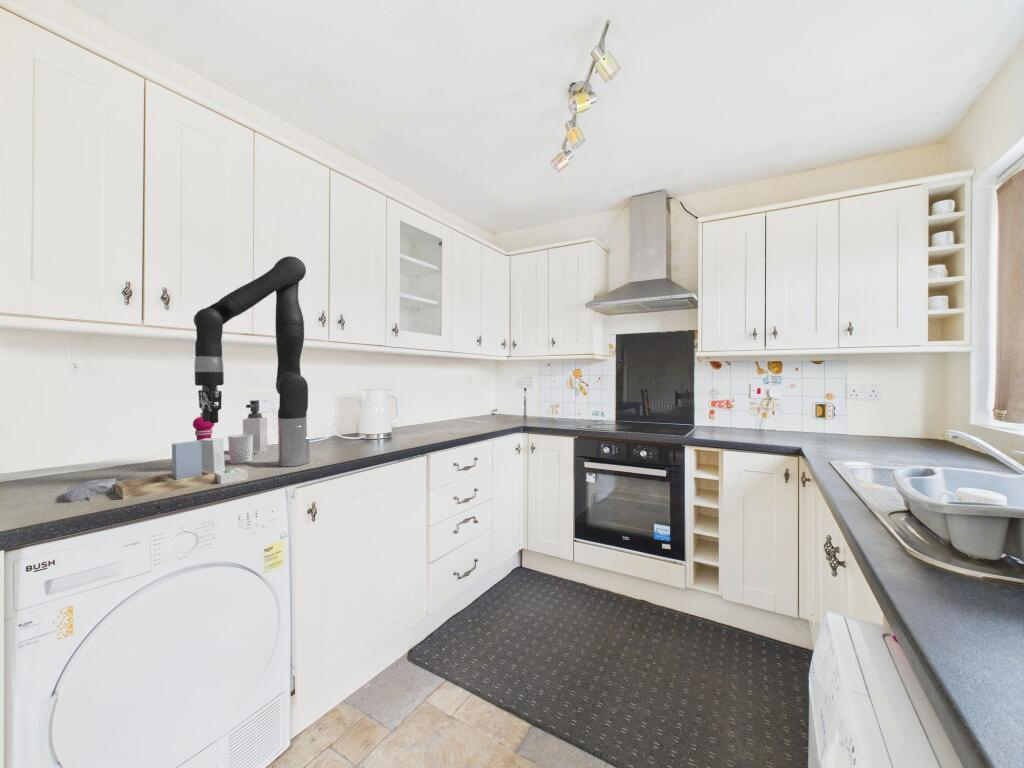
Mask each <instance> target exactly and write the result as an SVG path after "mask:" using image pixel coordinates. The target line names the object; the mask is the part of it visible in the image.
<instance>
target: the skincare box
mask: <svg viewBox="0 0 1024 768" xmlns="http://www.w3.org/2000/svg"><path fill="white" fill-rule="evenodd" d="M196 441H199V442H201V447H202V469H204V470H206V471H208V472H211V473H213V472H216V471H222V470H226V467H225V465H226V464H225V448H224V438H213V437H211V438H206V439H201V440H197V439H196Z"/></svg>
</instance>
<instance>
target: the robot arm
mask: <svg viewBox="0 0 1024 768" xmlns="http://www.w3.org/2000/svg"><path fill="white" fill-rule="evenodd" d="M306 272H307V269H306V265H305V263H304V262H303V261H302V260H301V259H300V258H298V257H296V256H284V257H282V258H280V259H279V260H278V261H277V262H275V264H274V265H273V267H272V268H271V269H269V270H268V271H267V272H265V273H264V274H262V275H261V276H259V277H257V278H256V279H253V280H251V281H250V282H248V283H246V284H244V285H241V286H240V287H237V288H236V289H235V290H233V291H231V292H229V293H228V294H226V295H224V296H223V297H221V298H220V299H219V300H218V301H216V302H215V303H213V304H211V305H208V306H207V307H204V308H202V309H200V310H198V311H197V312H196V313H195V315H194V316H193V323H194V326H195V328H196V329H195V331H196V340H195V344H194V351H195V352H194V353H195V357H194V385H195V386H198V387H199V386H201V389H199V390H198V408H199V409H200V410H201V413H202V417H203V422H210V423H214V424H217V423H218V422H219V411H220V410H221V409H222V397H223V395H222V390H218V386H223V385H224V383H225V381H224V380H225V379H224V362H223V342H222V339H223V330H224V326H223V325H225V324H226V323H228V322H229V321H230V320H232V319H234V318H235V317H237V316H239V315H241V314H243V313H245V312H247V311H248V310H249V309H252V308H253V307H254V306H256V305H257V304H259V303H260V302H261V301H263V300H264V299H266V298H267V297H268V296H270V295H271V294H272V293H274V292H275V294H276V295H275V297H276V298H275V322H274V323H275V343H276V355H277V370H276V371H277V372H276V382H275V388H276V392H277V393H278V395H279V407H278V410H277V438H278V439H277V440H278V466H279V467H287V466H288V467H297V466H303V465H305V464H309V463H310V459H311V458H310V437H308V435H307V433H308V430H307V427H308V425H307V412H308V409H309V386H308V382H307V380H306V378H305V377H303V376H302V373H301V355H302V351H303V346H304V343H305V342H304V341H305V321H304V315H303V313H302V309H301V305H300V302H299V286H300V285H299V284H300V282H301V281H302V280H303V279H304V278H305V276H306Z"/></svg>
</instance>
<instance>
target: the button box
mask: <svg viewBox="0 0 1024 768" xmlns="http://www.w3.org/2000/svg"><path fill="white" fill-rule="evenodd" d="M233 469H235V472H230V473H225V470H226V469H225V470H222V471H216V472H213V474H215V483H217V484H220V485H223V484H228V483H234V482H240V481H246V480H249V476H248V474H249V473H248V472H249V471H248V470H247V469H243V468H240V467H235V468H234V467H233Z"/></svg>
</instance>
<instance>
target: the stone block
mask: <svg viewBox="0 0 1024 768" xmlns="http://www.w3.org/2000/svg"><path fill="white" fill-rule="evenodd" d="M115 483H117V477H113V478H105V479H103V478H102V479H100V478H99V479H92V480H87V481H84V482H82V483H77V484H73V485H71V486H69V487H68V488H67V489H66V490H65V492H64V493H63V495H64V499H65V501H66V500H67V501H66V502H68V501H69V502H68V503H76V502H75V501H80V502H85V501H84V500H87V501H90V498H89V497H91V496H97V495H99V496H100V495H108V494H112V493H116V492H115Z"/></svg>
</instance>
